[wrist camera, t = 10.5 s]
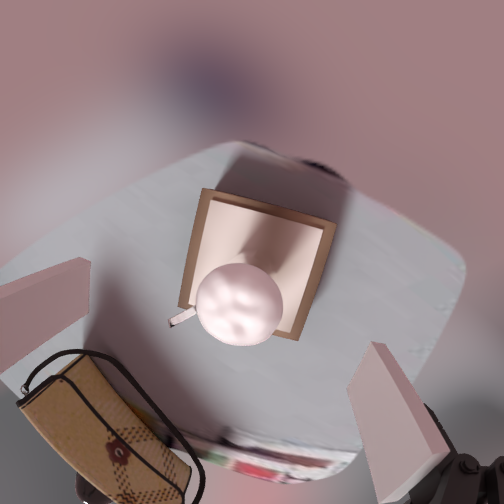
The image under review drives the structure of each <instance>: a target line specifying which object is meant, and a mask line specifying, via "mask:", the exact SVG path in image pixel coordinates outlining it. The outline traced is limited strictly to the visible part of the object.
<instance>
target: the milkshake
mask: <svg viewBox="0 0 504 504" xmlns="http://www.w3.org/2000/svg"><path fill="white" fill-rule="evenodd" d="M195 314H198V317H199V320H200V322H201V324H202V325H203V327H204V328H205V330H206V331H207V332H208V333H210V334H211V335H212V336H213V337H215V338H216V339H218V340H220V341H222V342H224V343H227V344H230V345H239V346H250V345H255V344H259V343H261V342H263V341H265V340H266V339H268V338H269V337H270V336H271V335H272V334H273V332H274V331H275V330H276V328H277V327H278V325H279V323H280V321H281V319H282V315H283V299H282V295H281V291H280V288H279V285H278V281H277V276H276V271H275V267H274V265H273V262H272V260H271V258H270V256H269V255H268V254H266V253H264V252H263V251H261V250H259V249H250V250H244V251H243V252H242V253H240V254H239V255H237V256H236V257H235V258H233V259H232V260H230V261H228V262H227V263H225V264H223V265H221V266H219V267H217V268H215V269H214V270H212V271H211V272H210V273H209V274H208V275H207V276H206V277H205V278H204V279H203V280H202V282H201V283H200V285H199V287H198V289H197V292H196V305H194V306H193V307H191V308H189V309H187V310H185V311H183V312H181V313H179V314H178V315H176V316H174V317H172V318H170V319H169V320H168V323H169V327H170V328H172V327H174V326H175V325H177V324H179V323H181V322H182V321H184V320H186V319H188V318H190V317H191V316H193V315H195Z"/></svg>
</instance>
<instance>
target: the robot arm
mask: <svg viewBox="0 0 504 504" xmlns="http://www.w3.org/2000/svg"><path fill="white" fill-rule="evenodd" d="M90 266H91V261H88V260H86V259H83V258H81V257H78V258H75V259H72V260H69V261H67V262H64V263H61V264H58V265H55V266H53V267H50V268H47V269H44V270H42V271H39V272H36V273H34V274H31V275H28V276H26V277H23V278H21V279H18V280H15V281H13V282H10V283H8V284H5V285H3V286H0V374H1V373H3V372H4V371H5V370H7V369H8V368H10V367H11V366H12V365H14V364H15V363H16V362H18V361H19V360H21V359H22V358H23V357H25V356H26V355H28V354H29V353H30V352H32V351H33V350H35V349H36V348H38V347H39V346H40V345H42V344H43V343H45V342H46V341H48V340H49V339H51V338H52V337H53V336H55V335H56V334H58V333H59V332H61V331H62V330H64V329H65V328H67V327H68V326H70V325H71V324H73V323H74V322H76V321H77V320H79V319H80V318H82V317H83V316H85V315H86V314H88V313H89V284H90ZM347 392H348V396H349V399H350V402H351V405H352V408H353V412H354V415H355V418H356V422H357V425H358V429H359V432H360V435H361V439H362V442H363V446H364V449H365V453H366V456H367V460H368V464H369V468H370V472H371V476H372V479H373V483H374V487H375V491H376V495H377V499H378V504H381V503H389V502H394V501H398V500H399V499H400V498H401V497H403V496H404V495H405V494H407V493H408V492H409V495H410V499H409V500H408V501H406V502H405V503H404V504H487V503H488V504H504V456H500V457H498V458H497V459H496V460H495V461H494V462H493V463H492V464H491V465H490V466H489V467H487V466H480V464H479V462H478V461H477V460H476V459H475V458H474V457H472V456H471V455H469V454H465V453H464V454H459V455H458V453H457V451H456V449H455V448H454V446H453V444H452V442H451V441H450V439H449V437H448V435H447V434H446V432H445V430H444V429H442V428H443V427H442V425H441V424H440V422H438V419H437V417H436V415H435V414H434V412H433V411H432V410H431V409H430V408H429V407H428V406H427V405H426V404H425V403H423V402H422V401H421V399H420V398H419V396H418V395H417V393H416V391H415V389H414V388H413V386H412V385H411V383H410V382H409V380H408V378H407V377H406V375H405V374H404V372H403V371H402V369H401V368H400V366H399V364H398V363H397V361H396V360H395V358H394V357H393V355H392V354H391V352H390V351H389V349H388V348H387V346H386V345H385V344H382V343H377V342H370V344H369V346H368V348H367V350H366V353H365V355H364V357H363V359H362V361H361V363H360V365H359V367H358V369H357V370H356V372H355V374H354V376H353V378H352V380H351V382H350V384H349V385H348V387H347Z"/></svg>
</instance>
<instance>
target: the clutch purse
mask: <svg viewBox="0 0 504 504" xmlns="http://www.w3.org/2000/svg"><path fill="white" fill-rule="evenodd" d="M68 354H80V355H79V356H78V357H76V358H75V359H74V360H72V361H71V362H70V363H69V364H68V365H66V366H65V367H64V368H63V369H62V370H60V371H59V372H58V373H57V374H56V375H51V376H50V377H48V378H47V379H46V380H45V381H43V382H42V383H41V384H40V385H38V386H37V387H36V388H35V389H34V390H32V391H31V392H30V393H29V385H30V383H31V381H32V379H33V378H34V377H35V375H36V374H37V373H38V372H39V371H40V370H41V369H43V368H44V367H45V366H46V365H48V364H49V363H51V362H52V361H53V360H55V359H57V358H58V357H60V356H63V355H68ZM88 355H91V356H96V357H99V358H103V359H105V360H107V361H109V362H111V363H112V364H113V365H114V366H115V367H116V368H117V369H118V370H119V371H120V372H121V373H122V374H123V375H124V376H125V377H126V378H127V379H128V381H129V382H130V383H131V384H132V385H133V386H134V387H135V388H136V390H137V391H138V392H139V393H140V394H141V395H142V396H143V398H144V399H145V400H146V401H147V402H148V403H149V405H150V406H151V407H152V408H153V409H154V410H155V412H156V413H157V414H158V415H159V417H160V418H161V419H162V420H163V422H164V423H165V424H166V425H167V427H168V428H169V429H170V430H171V431H172V433H173V434H174V435H175V436H176V437H177V439H178V440H179V441H180V442H181V444H182V445H183V446H184V447H185V449H186V450H187V452H188V453H189V455H190V456H191V458H192V459H193V461H194V462H195V464H196V466H197V468H198V471H199V475H200V484H199V489H198V492H197V495H196V497H195V499H194V501H193V502H192V504H199V501H200V500H201V498H202V495H203V492H204V488H205V479H206V477H205V471H204V469H203V466H202V465H201V463H200V461H199V459H198V458H197V456H196V455H195V453H194V452H193V450H192V449H191V447H190V446H189V445H188V443H187V442H186V441H185V439H184V438H183V437H182V436H181V434H180V433H179V432H178V431H177V430H176V428H175V427H174V426H173V425H172V424H171V422H170V421H169V420H168V419H167V417H166V416H165V415H164V414H163V412H162V411H161V410H160V409H159V408H158V407H157V405H156V404H155V403H154V402H153V401H152V400H151V398H150V397H149V396H148V395H147V394H146V392H145V391H144V390H143V389H142V388H141V386H140V385H139V384H138V383H137V382H136V381H135V380H134V378H133V377H132V376H131V375H130V374H129V373H128V372H127V371H126V370H125V369H124V367H123V366H122V365H121V364H120V363H119V362H118V361H116V360H115V359H114V358H112V357H110V356H108V355H105V354H102V353H99V352H95V351H90V350H83V349H70V350H64V351H60V352H58V353H56V354H54V355H52V356H51V357H49V358H48V359H47V360H45V361H44V362H42V363H41V364H40V365H39V366H37V367H36V368H35V369H34V370H33V372H32V373H31V374H30V376H29V377H28V379H27V381H26V383H25V384H24V385H22V386H21V392H22V387H24V388H25V390H26V391H27V393H26V392H25V391H23V392H24V393H23V392H22V393H23V394H24V395H25V397H24V398H23V399H21V400H18V401H17V402H16V404H17V406H18V407H19V408H20V409H21V411H22V412H23V414H24V415H25V416H26V418H27V419H28V420H29V421H30V422H31V424H32V425H33V426H34V427H35V428H36V430H37V431H38V432H39V433H40V434H41V436H42V437H43V438H44V439H45V440H46V441H47V442H48V443H49V444H50V445H51V447H52V448H53V449H54V450H55V451H56V452H57V453H58V454H59V455H60V456H61V457H62V458H63V459H64V460H65V461H66V462H67V463H68V464H69V465H70V466H72V467H73V468H74V469H75V470H76V471H77V472H78V473H79V474H80V475H81V476H83V477H84V478H85V479H86V480H87V481H88V482H90V483H91V484H92V485H93V486H95V487H96V488H97V489H98V490H100V491H101V492H102V493H103V494H105V495H106V496H107V497H109V498H110V499H111V500H113V501H114V502H116V503H117V504H185V493H186V490H187V487H188V485H189V481H190V478H191V474H192V468H191V466H188V465H187V464H186V463H184V462H183V461H182V460H181V459H180V458H179V457H177V455H175V454H174V453H173V452H172V451H171V450H170V449H169V448H168V447H167V446H166V445H165V444H164V443H162V442H161V441H160V440H159V439H158V438H157V437H156V436H155V435H154V434H153V433H152V432H151V431H150V430H149V429H148V428H147V427H146V426H145V425H144V424H143V422H142V421H141V420H140V419H139V418H138V417H137V416H136V415H135V414H134V413H133V412H132V410H131V409H130V408H129V407H128V406H127V405H126V404H125V402H124V401H123V400H122V399H121V398H120V397H119V395H118V394H117V393H116V392H115V391H114V389H113V388H112V387H111V386H110V384H109V383H108V382H107V380H106V379H105V378H104V377H103V375H102V374H101V373H100V371H99V370H98V368H97V367H96V366H95V364H94V363H93V362H92V360H91V359H90V357H89V356H88ZM25 393H26V394H25ZM28 393H29V394H28ZM27 394H28V395H27Z"/></svg>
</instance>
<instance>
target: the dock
mask: <svg viewBox="0 0 504 504" xmlns="http://www.w3.org/2000/svg"><path fill="white" fill-rule="evenodd" d="M336 226H337V224H336V223H333V222H331V221H329V220H326V219H322V218H319V217H316V216H312V215H309V214H305V213H302V212H298V211H295V210H291V209H288V208H284V207H280V206H277V205H273V204H269V203H265V202H262V201H258V200H254V199H250V198H246V197H242V196H238V195H234V194H230V193H226V192H222V191H218V190H213V189H206V188H202V191H201V195H200V199H199V203H198V208H197V212H196V216H195V221H194V225H193V230H192V235H191V239H190V244H189V249H188V254H187V259H186V264H185V269H184V274H183V279H182V285H181V290H180V296H179V302H178V307H180V308H183V309H186V310H187V309H189V308H191V307H193V306H194V305H196V292H197V289H198V287H199V285H200V283H201V282H202V280H203V279H204V278H205V277H206V276H207V275H208V274H209V273H210V272H211V271H212V270H214V269H215V268H217V267H219V266H221V265H223V264H225V263H227V262H228V261H230V260H232V259H233V258H235V257H236V256H237V255H239V254H240V253H242V252H243V251H244V250H250V249H259V250H261V251H263V252H264V253H266V254H268V255H269V256H270V258H271V260H272V262H273V265H274V267H275V271H276V276H277V281H278V285H279V288H280V291H281V295H282V299H283V315H282V319H281V321H280V323H279V325H278V327H277V328H276V330H275V331H274V332H273V334H272V335H275V336H279V337H283V338H287V339H291V340H295V341H298V340H299V338H300V335H301V332H302V330H303V327H304V324H305V321H306V319H307V316H308V313H309V310H310V308H311V305H312V302H313V299H314V296H315V293H316V290H317V287H318V284H319V281H320V278H321V275H322V272H323V269H324V266H325V263H326V260H327V256H328V253H329V250H330V247H331V243H332V240H333V237H334V233H335V230H336Z"/></svg>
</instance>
